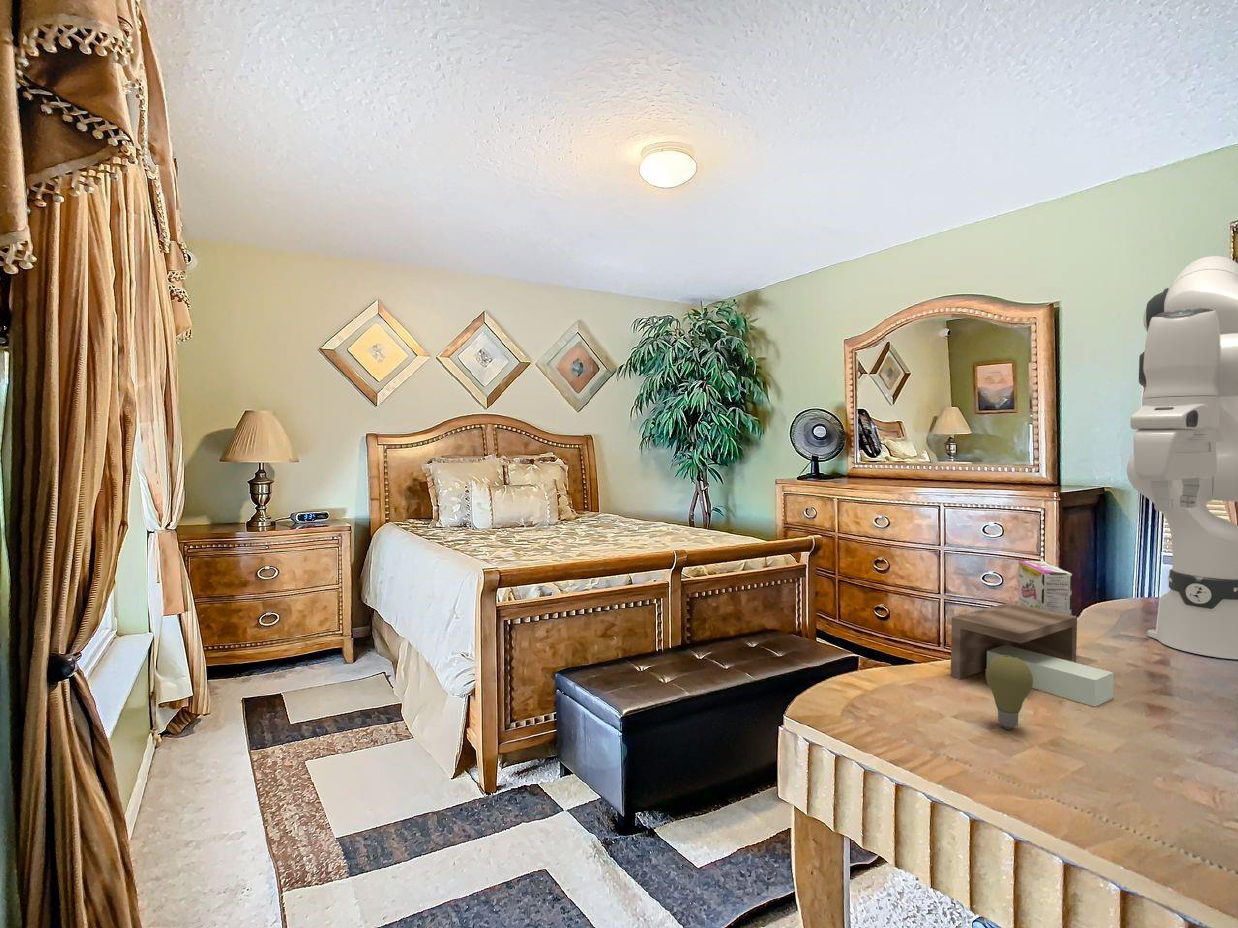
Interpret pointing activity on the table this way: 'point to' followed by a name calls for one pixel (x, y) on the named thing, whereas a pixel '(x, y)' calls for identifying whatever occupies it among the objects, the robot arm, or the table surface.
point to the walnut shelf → (1009, 635)
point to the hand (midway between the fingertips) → (1176, 509)
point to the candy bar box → (1045, 587)
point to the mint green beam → (1062, 676)
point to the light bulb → (1009, 687)
